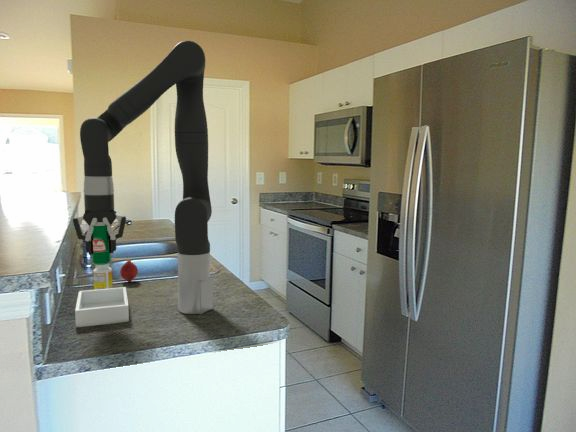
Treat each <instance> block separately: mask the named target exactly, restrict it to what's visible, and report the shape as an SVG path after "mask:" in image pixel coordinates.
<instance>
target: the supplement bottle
mask: <svg viewBox="0 0 576 432" xmlns="http://www.w3.org/2000/svg"><path fill="white" fill-rule="evenodd" d="M113 284H114V283H113V269H112V267H110V263H109V264H105V265H95V268H94V269H93V290H98V289H110V288H114V286H113Z"/></svg>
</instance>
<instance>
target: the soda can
mask: <svg viewBox="0 0 576 432" xmlns="http://www.w3.org/2000/svg"><path fill="white" fill-rule="evenodd" d="M107 226H108V225H106V224H104V222H96V224H95V225H94V226H93V229H94V230H93V233H92V235H91V238H90V240H91V253H92V255H91V263H92V264H93V265H95V266H96V265H105V264H109V265H110V263H111V262H112V253H111V237H110V235H109V233H108V231H107Z"/></svg>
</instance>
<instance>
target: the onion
mask: <svg viewBox="0 0 576 432" xmlns="http://www.w3.org/2000/svg"><path fill="white" fill-rule="evenodd" d="M119 271H120V272H119V274H120V276H121V278H122V279H123V280H124V281H126V282H132V281H133V280H134V279H135V278H137V276H138V272H139V271H138V267H137V265H136V264H135V263H133V262H132V259H128V260H127V261H126V262H124V264H123V265H122V266H121V267H120V270H119Z"/></svg>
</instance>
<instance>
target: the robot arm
mask: <svg viewBox="0 0 576 432" xmlns="http://www.w3.org/2000/svg"><path fill="white" fill-rule="evenodd" d="M205 69H206V55H205V51H204V50H203V48H202V46H200V45H199V43H197V42H195V41H192V40H184V41H183V40H182V41H180V42H178V43H177V44H176V45H174V47H173V48H172V49H171V50H170V51H169V53H168V54H167V55H166V56H165V57H164V58H163V59H162V61H160V63H158V64H157V65H156V66H155V67H154V68H153V69H152V70H151V71H150V72H149V73H148V74H147V75H145V76H144V77H143V78H141V79H140V80H139V81H137V82H136V83H135V84H133V85H132V86H131V87H130V88H128V89H127V90H126V91H124V92H123V93H122V94H120V96H118V97H116V99H115V100H113V101H111V103H110V104H109V105H108V107H107V109H106V110H105V111H104V112H102V113H101V114H100V115H99V116H97V117H88V118H87V119H85V120H84V121H83V122H82V123H81V124H80V129H79V130H80V131H79V139H80V140H79V141H80V145H81V151H82V154H83V155H82V156H83V175H84V178H83V179H84V180H83V199H84V202H83V203H84V213H83V215H82V216H78V217H75V216H74V217H73V219H72V224H73V227H74V230H75V234H76V236H77V239H78V240H82V241H84V243H85V252H86V253H88V255H89V256H92V253H91V235H92V233H93V230H94V229H93V226H94V225H95V224H96V222H104V224H106V225H108V226H107V231H108V233H109V235H110V237H111V254H114V252H116V250H117V239H120V238H122V237H123V235H124V230H125V226H126V221H127V218H126V217H127V216H126V215H122V216H121V215H118V214H116V212H115V188H114V180H113V165H112V164H113V162H112V158H111V157H110V154H109V142H111V141H113V139H115V138H116V137H117V136H118V135H119V134H120V133H121V132H122V131H123V129H125V128H126V127H127V126H128V125H130V124H131V123H132V122H134V121H135V120H136V119H138V118H139V117H140V116H141V115H143V114H144V113H145V112H147V111H148V110H149V109H150V108H151V107H152V105H154V104H155V103H156V102H157V100H159V99H160V97H161V96H163V94H165V93H166V92H167V91H168V90H169V89H170V88H172V87H173V86H174V85H175V88H176V107H175V115H174V117H175V118H174V146H175V147H174V149H175V153H176V158H177V163H178V165H179V169H180V173H181V176H182V185H183V186H182V200H181V201H179V202H178V204H176V207H175V211H174V236H175V244H176V246H177V298H178V299H177V300H178V301H177V303H178V307H177V308H178V311H179V312H180V313H182V314H186V315H187V314H188V315H203V314H204V313H206V312H208V311H211V310H213V309H214V278H213V276H211V243H210V240H209V228H208V226H209V225H208V224H209V221H210V220H211V217H212V213H213V212H212V211H213V210H212V203H211V198H210V189H209V188H210V187H209V180H208V179H209V178H208V177H209V174H208V173H209V130H208V121H207V114H206V108H205V104H204V80H205V79H204V78H205V76H204V75H205ZM115 220H117V223H118V224H119V226H118V232H117V233H115V232H114V229H113V227H112V224H113V223H114V222H115ZM83 221H84V222H85V223H86V224H87V225H88V229H87V232H86V234H83V231H82V228H81V225H82V224H83Z"/></svg>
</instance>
